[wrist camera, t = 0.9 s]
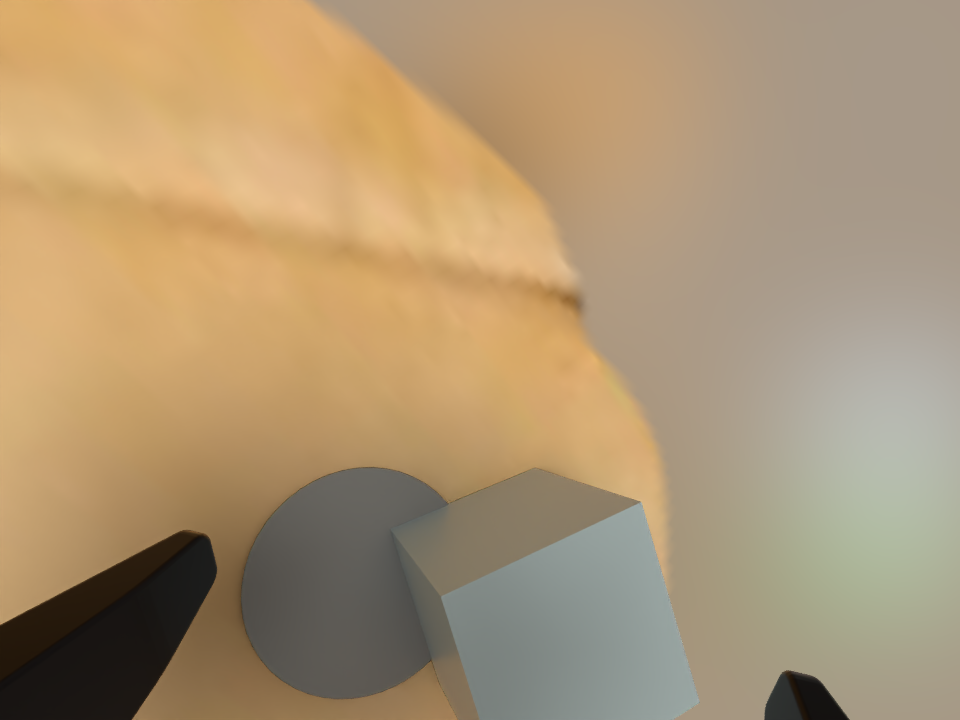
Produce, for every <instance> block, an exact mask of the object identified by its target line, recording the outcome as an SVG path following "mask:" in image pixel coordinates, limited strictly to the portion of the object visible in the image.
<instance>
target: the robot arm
mask: <svg viewBox="0 0 960 720" xmlns="http://www.w3.org/2000/svg"><path fill="white" fill-rule="evenodd" d="M216 574H217V565H216V561H215V557H214V553H213V549H212V545H211V541H210V539H209V537H208V536H207V535H206V534H203V533H199V532H195V531H191V530H183V531H180V532H177V533H175V534H174V535H172V536H170V537H168V538H166V539H164V540H162V541H160V542H158V543H156V544H154V545H152V546H151V547H149V548H147V549H145V550H143V551H141V552H139V553H137V554H135V555H133V556H131V557H129V558H128V559H126V560H124V561H122V562H120V563H118V564H116V565H114V566H112V567H110V568H108V569H106V570H105V571H103V572H101V573H99V574H97V575H95V576H93V577H91V578H89V579H87V580H85V581H84V582H82V583H80V584H78V585H76V586H74V587H72V588H70V589H68V590H66V591H64V592H62V593H61V594H59V595H57V596H55V597H53V598H51V599H49V600H47V601H45V602H43V603H41V604H39V605H38V606H36V607H34V608H32V609H30V610H28V611H26V612H24V613H22V614H20V615H18V616H16V617H15V618H13V619H11V620H9V621H7V622H5V623H3V624H1V625H0V720H132V719H133V717H134V716H135V714H136V713H137V711H138V710H139V708H140V707H141V705H142V704H143V702H144V701H145V699H146V698H147V696H148V695H149V693H150V692H151V691H152V689H153V688H154V686H155V685H156V683H157V681H158V680H159V678H160V677H161V675H162V674H163V672H164V671H165V669H166V667H167V666H168V664H169V662H170V660H171V659H172V657H173V655H174V653H175V652H176V650H177V648H178V646H179V644H180V643H181V641H182V639H183V637H184V635H185V634H186V632H187V630H188V628H189V626H190V625H191V623H192V621H193V619H194V617H195V616H196V614H197V612H198V610H199V608H200V607H201V605H202V603H203V601H204V599H205V597H206V596H207V594H208V592H209V590H210V588H211V587H212V585H213V583H214V580H215V578H216ZM765 720H849V718H848V717H847V716H846V714H845V713H844V712H843V710H842V709H841V708H840V706H839V705H838V704H837V702H836V701H835V700H834V698H833V697H832V696H831V694H830V693H829V692H828V690H827V689H826V688H825V686H824V685H823V684H822V683H821V682H820V681H819V680H818V679H817V678H815V677H813V676H810V675H807V674H802V673H798V672H794V671H789V670H788V671H785V672H782V674H781V675H780V677H779V679H778V681H777V683H776V685H775V687H774V689H773V691H772V693H771V695H770V697H769V699H768V701H767V704H766V707H765Z"/></svg>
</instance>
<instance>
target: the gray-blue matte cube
mask: <svg viewBox="0 0 960 720" xmlns="http://www.w3.org/2000/svg"><path fill="white" fill-rule="evenodd" d="M390 530H391V533H392V536H393V539H394V542H395V545H396V548H397V552H398V555H399V558H400V561H401V564H402V567H403V570H404V574H405V577H406V580H407V583H408V586H409V589H410V592H411V595H412V599H413V602H414V605H415V608H416V611H417V614H418V617H419V620H420V624H421V627H422V630H423V633H424V636H425V639H426V642H427V646H428V649H429V652H430V655H431V658H432V663H433V666H434V669H435V672H436V675H437V678H438V681H439V684H440V686H441V688H442V690H443V692H444V694H445V696H446V697H447V699H448V701H449V703H450V705H451V707H452V709H453V711H454V713H455V715H456V717H457V718H458V720H674V719H675V718H677V717H678V716H680V715H681V714H683V713H684V712H686V711H688V710H689V709H690V708H692V707H694V706H695V705H697V704H698V703H699V699H698V695H697V692H696V688H695V685H694V681H693V678H692V674H691V671H690V668H689V664H688V661H687V657H686V654H685V650H684V647H683V643H682V640H681V637H680V633H679V630H678V627H677V623H676V619H675V616H674V613H673V609H672V606H671V602H670V599H669V595H668V592H667V589H666V585H665V582H664V578H663V575H662V571H661V568H660V565H659V561H658V558H657V554H656V551H655V547H654V544H653V541H652V537H651V534H650V530H649V527H648V523H647V520H646V516H645V513H644V510H643V506H642V503H641V502H640V501H636V500H633V499H630V498H627V497H624V496H621V495H618V494H615V493H612V492H609V491H605V490H602V489H599V488H596V487H593V486H590V485H587V484H584V483H581V482H577V481H574V480H571V479H568V478H565V477H562V476H559V475H556V474H553V473H550V472H546V471H543V470H540V469H537V468H533V469H531V470H529V471H526V472H524V473H521V474H519V475H517V476H514V477H512V478H509V479H507V480H504V481H502V482H500V483H497V484H495V485H492V486H490V487H487V488H485V489H483V490H480V491H478V492H475V493H473V494H470V495H468V496H466V497H463V498H461V499H458V500H456V501H454V502H451V503H449V504H448V505H447V506H445V507H442V508H440V509H437V510H435V511H433V512H430V513H428V514H425V515H423V516H421V517H418V518H416V519H413V520H411V521H408V522H406V523H404V524H401V525H399V526H396V527H394V528H392V529H390Z"/></svg>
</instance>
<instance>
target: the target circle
mask: <svg viewBox="0 0 960 720" xmlns="http://www.w3.org/2000/svg"><path fill="white" fill-rule="evenodd" d="M447 505H448V504H447V502H446V501H445V500H444V499H443V498H442V497H441V496H440V495H439V494H438V493H437V492H436V491H434V490H433V489H432V488H430V487H429V486H428V485H426V484H425V483H423V482H421V481H420V480H418V479H416V478H414V477H412V476H409V475H407V474H404V473H402V472H398V471H394V470H390V469H384V468H374V467H369V468H354V469H348V470H343V471H339V472H336V473H333V474H329V475H327V476H324V477H322V478H320V479H318V480H315V481H313V482H312V483H310V484H308V485H306V486H305V487H303V488H301V489H300V490H299V491H297V492H296V493H295V494H293V495H292V496H291V497H289V498H288V499H287V500H286V501H285V502H284V503H283V504H282V505H281V506H280V507H279V508H278V509H277V510H276V511H275V512H274V513H273V514H272V516H271V517H270V518H269V519H268V521H267V522H266V523H265V525H264V526H263V528H262V530H261V531H260V533H259V534H258V536H257V538H256V540H255V542H254V544H253V546H252V549H251V551H250V553H249V556H248V560H247V563H246V566H245V570H244V575H243V581H242V592H241V605H242V615H243V620H244V624H245V628H246V632H247V635H248V637H249V639H250V642H251V644H252V646H253V648H254V650H255V651H256V653H257V655H258V656H259V658H260V659H261V661H262V662H263V663H264V664H265V665H266V666H267V668H268V669H269V670H270V671H271V672H272V673H273V674H275V675H276V676H277V677H278V678H279V679H281V680H282V681H283V682H285V683H287V684H288V685H290V686H292V687H293V688H295V689H298V690H300V691H302V692H305V693H307V694H311V695H315V696H319V697H323V698H333V699H352V698H359V697H365V696H369V695H373V694H376V693H379V692H383V691H385V690H387V689H389V688H392V687H394V686H396V685H398V684H400V683H402V682H403V681H405V680H407V679H408V678H410V677H411V676H413V675H414V674H415V673H417V672H418V671H419V670H421V669H422V668H423V667H424V666H425V665H426V664H427V663H428V662H429V661H430V660H432V658H431V655H430V652H429V649H428V646H427V642H426V639H425V636H424V633H423V630H422V627H421V624H420V620H419V617H418V614H417V611H416V608H415V605H414V602H413V599H412V595H411V592H410V589H409V586H408V583H407V580H406V577H405V574H404V570H403V567H402V564H401V561H400V558H399V555H398V552H397V548H396V545H395V542H394V539H393V536H392V533H391V530H390V529H392V528H394V527H396V526H399V525H401V524H404V523H406V522H408V521H411V520H413V519H416V518H418V517H421V516H423V515H425V514H428V513H430V512H433V511H435V510H437V509H440V508H442V507H445V506H447Z"/></svg>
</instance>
